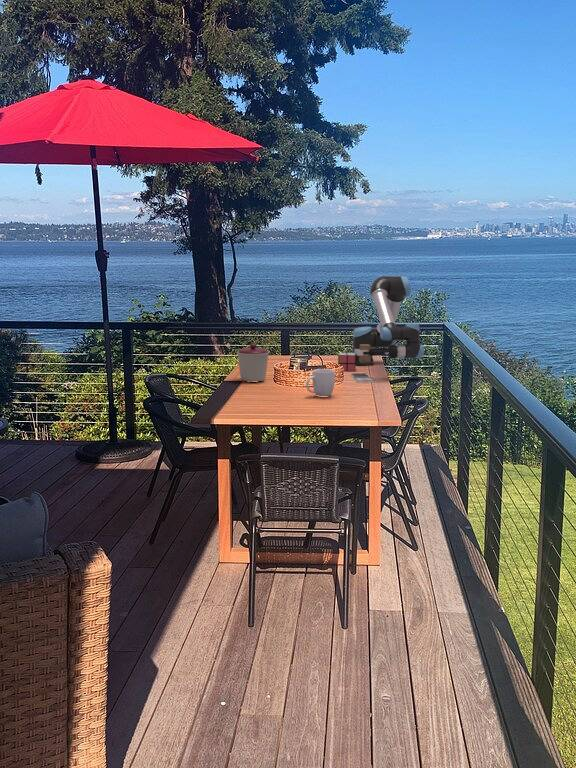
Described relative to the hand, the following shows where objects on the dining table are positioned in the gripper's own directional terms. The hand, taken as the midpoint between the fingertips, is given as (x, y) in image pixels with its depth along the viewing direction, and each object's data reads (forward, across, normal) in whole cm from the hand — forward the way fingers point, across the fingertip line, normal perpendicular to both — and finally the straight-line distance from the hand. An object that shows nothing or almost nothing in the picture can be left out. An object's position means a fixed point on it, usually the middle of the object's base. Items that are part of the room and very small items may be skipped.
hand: (355, 352), depth 443 cm
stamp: (-5, 0, -6) cm, 8 cm away
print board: (-5, 0, -16) cm, 17 cm away
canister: (+57, +5, -16) cm, 59 cm away
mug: (+28, -42, -16) cm, 53 cm away
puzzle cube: (-3, +35, -16) cm, 39 cm away
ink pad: (-5, +11, -16) cm, 20 cm away
